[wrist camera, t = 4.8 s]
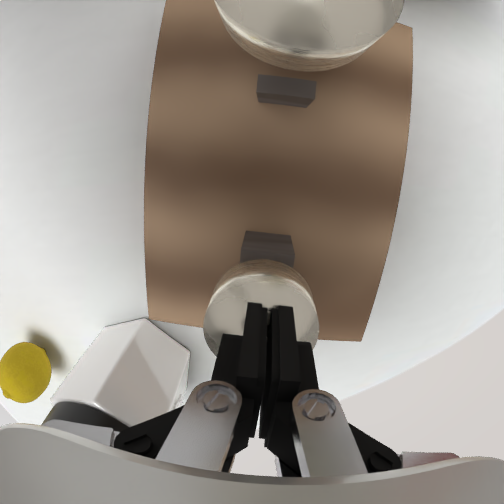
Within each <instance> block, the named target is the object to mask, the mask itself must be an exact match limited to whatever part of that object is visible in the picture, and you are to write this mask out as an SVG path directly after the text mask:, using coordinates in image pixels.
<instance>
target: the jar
mask: <svg viewBox="0 0 504 504" xmlns="http://www.w3.org/2000/svg"><path fill="white" fill-rule="evenodd" d="M189 360H190V351H189V350H187V349H186V348H185V347H183V346H182V345H180V344H179V343H178V342H176V341H175V340H174V339H172V338H171V337H169V336H168V335H167V334H165V333H164V332H163V331H161V330H160V329H159V328H158V327H156V326H155V325H154V324H152V323H151V322H150V321H149V320H147V319H146V318H143V319H138V320H134V321H130V322H125V323H121V324H116V325H112V326H107V327H104V328H103V329H102V331H101V332H100V333H99V334H98V336H97V337H96V338H95V340H94V341H93V342H92V343H91V345H90V346H89V347H88V349H87V350H86V351H85V353H84V354H83V355H82V357H81V358H80V359H79V361H78V362H77V363H76V365H75V366H74V367H73V369H72V370H71V371H70V373H69V374H68V375H67V377H66V378H65V379H64V381H63V382H62V384H61V385H60V386H59V388H58V389H57V391H56V392H55V393H54V395H53V396H52V398H51V399H50V401H51V404H52V406H53V408H52V410H51V411H50V413H49V414H48V416H47V417H46V419H45V420H44V422H43V423H42V425H43V424H45V423H46V422H47V421H50V420H63V421H69V422H74V423H80V424H86V425H92V426H99V427H107V428H112V429H113V431H116V432H121V431H123V430H124V429H126V428H128V427H131V426H134V425H137V424H139V423H142V422H144V421H147V420H150V419H152V418H155V417H157V416H160V415H162V414H165V413H167V412H169V411H172V410H174V409H177V408H179V407H181V404H182V401H183V398H184V395H185V392H186V388H187V380H188V370H189ZM42 425H41V426H42Z"/></svg>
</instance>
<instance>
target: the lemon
mask: <svg viewBox="0 0 504 504" xmlns="http://www.w3.org/2000/svg"><path fill="white" fill-rule="evenodd" d="M50 378H51V364H50V361H49V359H48V357H47V355H46V351H45V350H44V349H43V348H40V347H38V346H37V345H35V344H33V343H28V342H22V343H18V344H16V345H14V346H12V347H11V348H10V349H9V350H8V351H7V352H6V353H5V354H4V356H3V357H2V359H1V361H0V387H1V389H2V390H3V395H4V396H5V397H6V398H10V399H12V400H14V401H16V402H19V403H28V402H31V401H34V400H35V399H37V398H38V397H39V396H40V395H41V394H42V393H43V392H44V391H45V389H46V388H47V386H48V384H49V382H50Z"/></svg>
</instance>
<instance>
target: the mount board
mask: <svg viewBox="0 0 504 504" xmlns="http://www.w3.org/2000/svg"><path fill="white" fill-rule="evenodd" d="M412 72H413V37H412V28H411V27H408V26H405V25H403V24H400V23H397V22H396V23H395V24H394V26H393V27H392V28H391V29H389V30H388V31H387V32H386V33H385V34H384V35H383V36H382V37H381V38H379V39H378V40H377V41H376V42H375V43H374V44H373V45H372V46H370V47H369V48H368V49H367V50H366V51H365V52H364V53H363V54H362V55H360V56H359V57H358V58H356V59H355V60H353V61H352V62H350V63H348V64H346V65H343V66H340V67H338V68H334V69H330V70H324V71H309V72H305V71H294V70H289V69H284V68H280V67H277V66H273V65H271V64H268V63H266V62H263V61H261V60H260V59H258V58H256V57H254V56H252V55H251V54H249V53H248V52H246V51H245V50H244V49H243V48H242V47H240V46H239V45H238V44H237V43H236V42H235V41H234V39H233V38H232V37H231V36H230V34H229V33H228V31H227V30H226V28H225V25H224V23H223V21H222V19H221V16H220V14H219V11H218V9H217V6H216V4H215V1H214V0H166V4H165V8H164V13H163V18H162V23H161V28H160V33H159V39H158V45H157V51H156V57H155V64H154V71H153V79H152V87H151V95H150V105H149V115H148V127H147V141H146V158H145V184H144V244H145V270H146V288H147V302H148V314H149V319H152V320H157V321H163V322H169V323H175V324H182V325H188V326H195V327H202V328H203V323H204V317H205V314H206V311H207V308H208V305H209V302H210V300H211V297H212V294H213V291H214V289H215V286H216V284H217V283H218V281H219V279H220V278H221V277H222V276H223V275H224V274H225V273H226V272H227V271H228V270H229V269H231V268H232V267H234V266H236V265H238V264H240V263H243V262H246V261H250V260H256V259H268V260H274V261H278V262H281V263H284V264H286V265H288V266H290V267H292V268H293V269H295V270H296V271H297V272H298V273H300V274H301V276H302V277H303V278H304V279H305V280H306V282H307V283H308V285H309V287H310V290H311V293H312V297H313V301H314V304H315V308H316V312H317V316H318V321H319V335H318V339H319V340H337V341H361V340H362V337H363V334H364V332H365V329H366V326H367V323H368V319H369V316H370V313H371V310H372V307H373V304H374V300H375V297H376V294H377V290H378V287H379V283H380V280H381V276H382V272H383V268H384V265H385V261H386V257H387V253H388V249H389V244H390V240H391V236H392V231H393V227H394V222H395V217H396V212H397V207H398V202H399V196H400V190H401V185H402V178H403V172H404V165H405V158H406V150H407V142H408V133H409V123H410V111H411V96H412Z"/></svg>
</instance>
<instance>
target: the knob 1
mask: <svg viewBox="0 0 504 504" xmlns="http://www.w3.org/2000/svg"><path fill="white" fill-rule="evenodd" d="M214 1H215V4H216V6H217V9H218V11H219V14H220V16H221V19H222V21H223V23H224V25H225V28H226V30H227V31H228V33H229V34H230V36H231V37H232V38H233V39H234V41H235V42H236V43H237V44H238V45H239V46H240V47H242V48H243V49H244V50H245V51H246V52H248V53H249V54H251V55H252V56H254V57H256V58H258V59H260V60H261V61H263V62H266V63H268V64H271V65H273V66H277V67H280V68H284V69H289V70H294V71H305V72H309V71H324V70H330V69H334V68H338V67H340V66H343V65H346V64H348V63H350V62H352V61H353V60H355V59H356V58H358V57H359V56H360V55H362V54H363V53H364V52H365V51H366V50H367V49H368V48H369V47H370V46H372V45H373V44H374V43H375V42H376V41H377V40H378V39H379V38H381V37H382V36H383V35H384V34H385V33H386V32H387V31H388V30H389V29H391V28H392V27H393V26H394V24H395V23H396V21H397V20H398V18H399V16H400V14H401V12H402V8H403V3H404V0H214Z"/></svg>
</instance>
